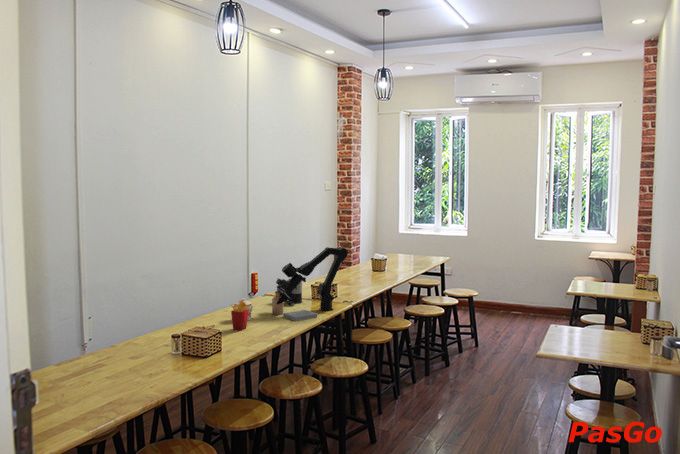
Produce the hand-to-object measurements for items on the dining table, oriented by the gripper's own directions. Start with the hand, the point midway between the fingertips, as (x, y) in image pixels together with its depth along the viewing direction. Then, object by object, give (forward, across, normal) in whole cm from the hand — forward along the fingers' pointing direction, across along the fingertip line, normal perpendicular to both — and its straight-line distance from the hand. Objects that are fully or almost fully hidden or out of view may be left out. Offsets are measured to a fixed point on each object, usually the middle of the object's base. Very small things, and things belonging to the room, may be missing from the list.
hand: (275, 302), depth 316 cm
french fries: (+23, +26, -13) cm, 37 cm away
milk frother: (-8, -24, +18) cm, 30 cm away
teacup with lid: (+18, +5, -9) cm, 21 cm away
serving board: (-3, +12, +13) cm, 17 cm away
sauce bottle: (+4, 0, +6) cm, 7 cm away
